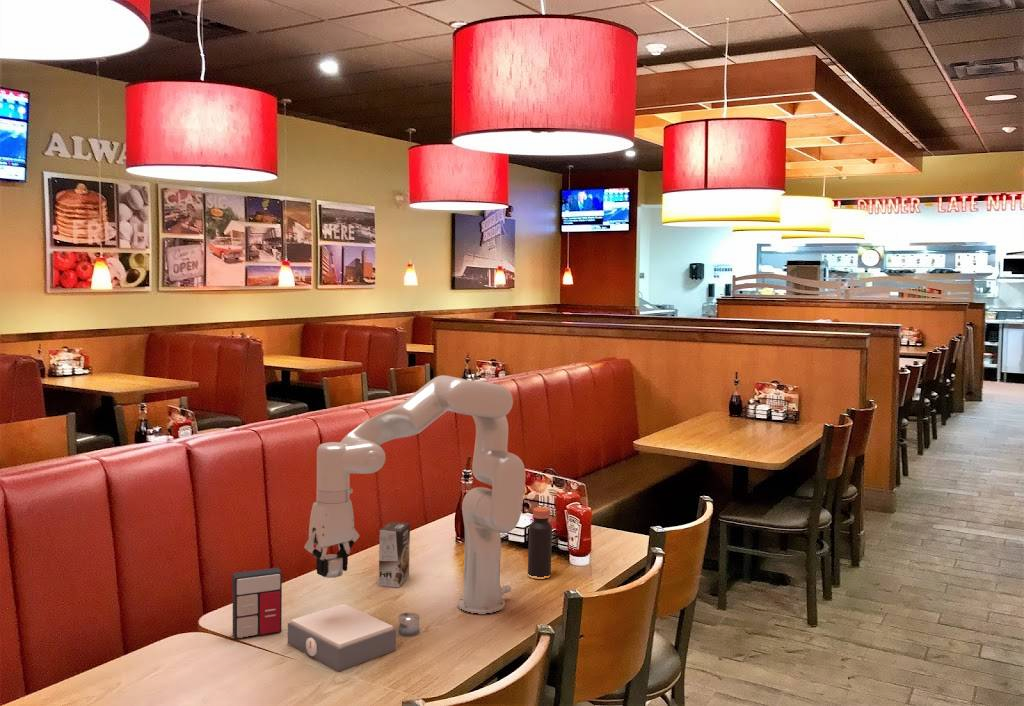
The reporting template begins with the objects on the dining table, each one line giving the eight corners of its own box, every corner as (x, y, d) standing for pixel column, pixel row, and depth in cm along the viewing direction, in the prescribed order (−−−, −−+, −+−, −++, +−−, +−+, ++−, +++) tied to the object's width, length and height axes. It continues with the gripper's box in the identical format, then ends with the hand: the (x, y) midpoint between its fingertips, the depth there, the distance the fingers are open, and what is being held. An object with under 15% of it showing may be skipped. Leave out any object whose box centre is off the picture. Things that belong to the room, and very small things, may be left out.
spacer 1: (334, 569, 208) (334, 552, 207) (347, 574, 204) (347, 557, 204) (316, 573, 204) (317, 557, 204) (329, 579, 201) (329, 562, 200)
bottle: (554, 575, 256) (557, 508, 255) (543, 581, 251) (545, 513, 249) (535, 570, 260) (537, 505, 258) (523, 577, 254) (525, 509, 252)
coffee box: (399, 588, 242) (400, 531, 241) (377, 586, 244) (378, 529, 242) (410, 577, 251) (411, 522, 250) (388, 575, 252) (389, 520, 251)
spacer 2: (409, 626, 216) (410, 611, 216) (423, 632, 213) (423, 616, 212) (394, 632, 212) (394, 616, 212) (407, 638, 209) (407, 622, 209)
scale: (343, 625, 215) (344, 602, 215) (395, 650, 202) (395, 626, 201) (285, 644, 203) (285, 620, 203) (336, 672, 190) (336, 646, 189)
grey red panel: (235, 640, 205) (235, 578, 203) (231, 634, 208) (232, 573, 207) (282, 633, 210) (282, 572, 208) (278, 626, 213) (278, 567, 212)
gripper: (353, 487, 211) (352, 560, 213) (292, 498, 199) (291, 576, 200) (372, 493, 206) (371, 568, 208) (311, 505, 194) (310, 584, 195)
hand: (332, 571), depth 204 cm, fingers closed on spacer 1, 5 cm apart
